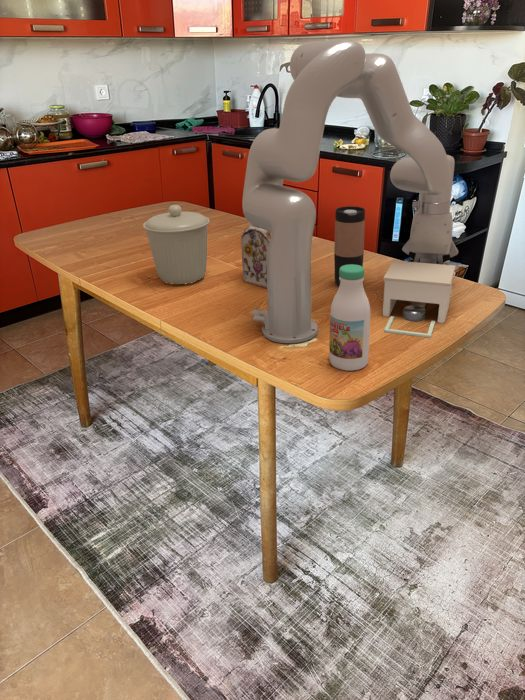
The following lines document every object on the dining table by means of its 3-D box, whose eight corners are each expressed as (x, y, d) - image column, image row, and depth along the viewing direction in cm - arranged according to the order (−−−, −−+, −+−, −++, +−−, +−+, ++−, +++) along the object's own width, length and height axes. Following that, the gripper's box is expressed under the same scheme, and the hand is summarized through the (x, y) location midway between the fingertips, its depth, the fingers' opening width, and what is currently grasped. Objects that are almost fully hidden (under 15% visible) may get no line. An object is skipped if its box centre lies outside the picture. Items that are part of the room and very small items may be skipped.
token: (404, 321, 129) (404, 313, 128) (401, 313, 133) (402, 305, 132) (426, 321, 128) (427, 313, 127) (423, 313, 133) (424, 305, 132)
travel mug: (345, 276, 156) (347, 204, 147) (368, 282, 151) (371, 208, 142) (328, 284, 152) (328, 210, 142) (350, 291, 147) (353, 214, 137)
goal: (384, 331, 124) (384, 329, 124) (390, 318, 131) (390, 316, 130) (430, 337, 121) (430, 335, 120) (434, 323, 127) (435, 321, 127)
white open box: (381, 316, 132) (383, 277, 127) (390, 296, 142) (393, 260, 138) (445, 323, 127) (450, 283, 122) (451, 303, 137) (455, 265, 132)
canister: (181, 265, 171) (173, 195, 162) (227, 274, 162) (221, 201, 152) (137, 283, 159) (126, 208, 149) (184, 295, 149) (175, 216, 139)
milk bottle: (342, 350, 117) (345, 258, 108) (375, 360, 113) (380, 265, 104) (321, 364, 112) (322, 269, 103) (355, 375, 108) (359, 277, 99)
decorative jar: (273, 291, 149) (270, 224, 141) (241, 282, 156) (238, 217, 148) (301, 278, 157) (300, 214, 148) (270, 270, 164) (268, 208, 156)
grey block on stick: (407, 311, 134) (410, 272, 129) (420, 279, 152) (423, 243, 147) (424, 313, 132) (428, 273, 128) (435, 280, 151) (439, 244, 146)
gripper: (397, 209, 139) (392, 279, 147) (468, 212, 133) (459, 285, 141) (402, 202, 145) (397, 269, 153) (470, 205, 139) (461, 275, 148)
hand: (427, 276), depth 147 cm, fingers closed on grey block on stick, 4 cm apart
